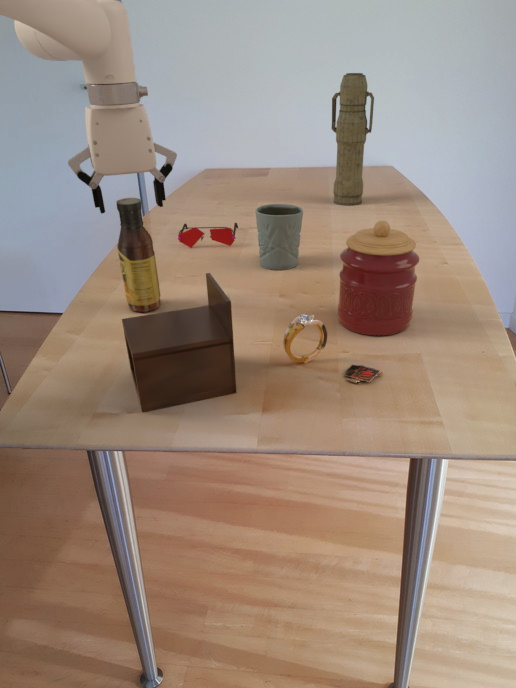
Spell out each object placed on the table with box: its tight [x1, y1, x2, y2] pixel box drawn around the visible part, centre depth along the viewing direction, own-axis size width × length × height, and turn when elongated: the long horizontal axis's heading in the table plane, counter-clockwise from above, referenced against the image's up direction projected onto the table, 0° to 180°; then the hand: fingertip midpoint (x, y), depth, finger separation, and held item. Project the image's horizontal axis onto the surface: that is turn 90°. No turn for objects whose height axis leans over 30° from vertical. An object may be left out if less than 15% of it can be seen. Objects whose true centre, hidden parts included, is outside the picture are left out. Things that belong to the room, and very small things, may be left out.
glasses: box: [177, 222, 239, 249], centre depth 137 cm, size 14×16×5 cm
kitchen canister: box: [337, 220, 420, 337], centre depth 92 cm, size 13×13×18 cm
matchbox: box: [344, 364, 383, 384], centre depth 80 cm, size 5×5×1 cm
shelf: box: [121, 272, 237, 413], centre depth 76 cm, size 13×11×14 cm
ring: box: [282, 312, 328, 364], centre depth 82 cm, size 7×3×8 cm, turn 111°
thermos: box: [331, 72, 375, 206], centre depth 160 cm, size 9×12×35 cm
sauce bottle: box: [116, 197, 162, 313], centre depth 97 cm, size 6×6×20 cm
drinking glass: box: [255, 203, 304, 271], centre depth 119 cm, size 10×10×12 cm
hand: (131, 208), depth 93 cm, fingers open, 9 cm apart
